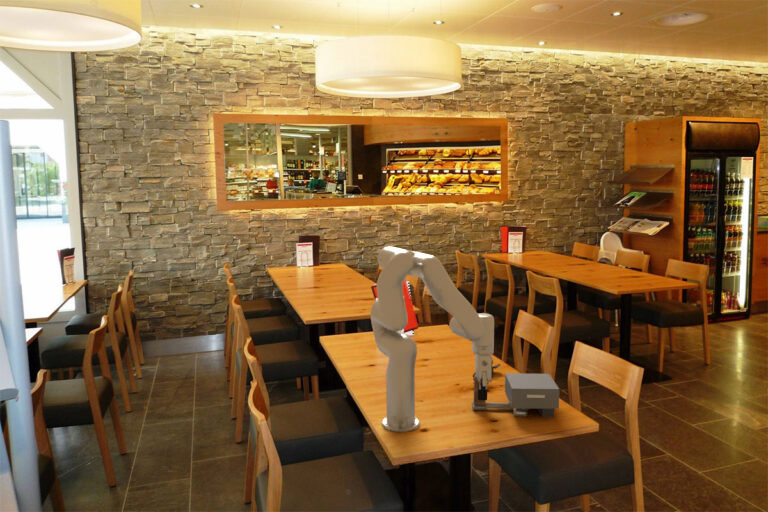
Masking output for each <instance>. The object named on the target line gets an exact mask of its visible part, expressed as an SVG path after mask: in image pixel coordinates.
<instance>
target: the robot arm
mask: <svg viewBox="0 0 768 512" xmlns="http://www.w3.org/2000/svg"><path fill="white" fill-rule="evenodd" d="M377 263H378V265H379V267H380V268H381V269H382V270H381V272H380V273H379V276H378V278H377V281H376V293H377V300H375V302H373V304H372V306H371V308H370V312H369V313H370V315H369V316H370V321H371V327H372V331H373V338H374V342H375V344H376V347H377V349H378V350H379V352H381V353H382V354H383V355H385V356H387V358H388V361H387V362H388V363H387V367H386V372H385V377H386V378H385V382H386V383H385V384H386V385H385V386H386V387H385V388H386V393H385V394H386V417H384V418H383V419H382V421H381V425H382V427H383V428H384V429H386V430H388V431H390V432H395V433H396V432H398V433H404V432H405V433H406V432H411V431H414V430H416V429H418V427H420V420H419V419H418V418H417V417H416V415H415V414H416V409H415V408H416V406H415V405H416V401H415V400H416V399H415V397H416V396H415V395H416V394H415V392H416V391H415V389H416V387H415V386H416V381H415V379H416V378H415V375H416V373H415V372H416V370H415V368H416V362H417V355H418V347H417V344H416V342H415V340H414V339H413V338H412V337H411V336H410V335H408V334H406V333H405V332H403V331H402V330H404V329H405V328H406V326H407V324H408V322H409V321H408V320H409V319H408V310H407V307H406V301H405V296H404V289H403V288H404V282H405V280H406V278H407V277H408V275H409V276H414V277H417V278H420V279H421V280H422V282H423V284H424V285H425V287H426V288H427V291H428V292H429V294H430V295H431V297H432V299H433V300H434V302H435V303H436V304H437V305H439V306H440V307H441V308H442V309H443V310H445V311H446V313H447V312H448V314H450V315H451V316H452V318H451V319H450V321H449V329H450V331H451V332H452V333H453V334H455V335H457V336H458V337H460V338H463V339H466V340H468V341H471V342H472V343H471V344H472V346H471V351H472V352H471V353H472V354H473V355H475V358H474V360H475V361H474V362H475V363H474V366H475V369H474V370H475V372H476V376H477V380H478V382H479V389H478V400H486V401H487V400H488V385H487V383H491V382H492V381H493V378H492V366H493V365H492V366H491V357H492V355H494V352H495V351H494V348H495V347H494V346H495V343H494V342H495V317H494V316H493V314H490V313H485V312H482V313H478V312H477V310H476V309H475V308H474V306H473V305H472V304H471V303H470V302H469V300H468V299H467V298H466V297H465V296H464V295H463V293H462V292H460V291H459V290H458V289H457V287H456V286H455V284H454V281H453V280H452V278H451V277H450V275H449V273H448V271H447V270H446V269H445V267H444V265H443V263H442V262H441V261H440V259H439V258H438V257H437V256H435V255H432V254H428V253H425V252H420V251H413V250H409V249H404V248H401V247H395V246H392V245H390V246H385V247H383V248H382V249H380V251H379V252H378V254H377ZM487 379H488V381H487ZM481 380H482V381H481ZM481 383H482V384H481Z"/></svg>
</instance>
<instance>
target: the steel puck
mask: <svg viewBox="0 0 768 512" xmlns="http://www.w3.org/2000/svg"><path fill="white" fill-rule="evenodd" d="M512 411H513V415H514V416H516V417H519V418H521V417H527V416H529V410H528V409H527V408H513V409H512Z"/></svg>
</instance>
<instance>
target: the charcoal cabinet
mask: <svg viewBox="0 0 768 512" xmlns="http://www.w3.org/2000/svg"><path fill="white" fill-rule="evenodd" d="M504 393H505V396H506V397H507V401H508V403H510V405H511V408H530V409H537V410H538V412H539V414H540V415H541V417H542V418H553V417H554V418H555V410H556V409H557V410H559V408H560V388H559V386H558V384H557V383H556V382H555V381H554V379H553V377H552V376H551V375H550V373H517V372H515V373H511V372H510V373H504Z"/></svg>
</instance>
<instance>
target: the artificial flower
mask: <svg viewBox="0 0 768 512" xmlns="http://www.w3.org/2000/svg"><path fill="white" fill-rule="evenodd" d="M493 364H494V359H493V357H492V356H491V366H492V379H493V378H494V376H495V372H494V370H496V369H498V368H499V367H501V366H502V364H501V363H498V364H496V365H494V366H493ZM474 374H476V371H475V372H474V373H473V374H472V379H473V381H474ZM488 384H489V381H488V379H487V386H488ZM472 385H474V382H473V383H472Z"/></svg>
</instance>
